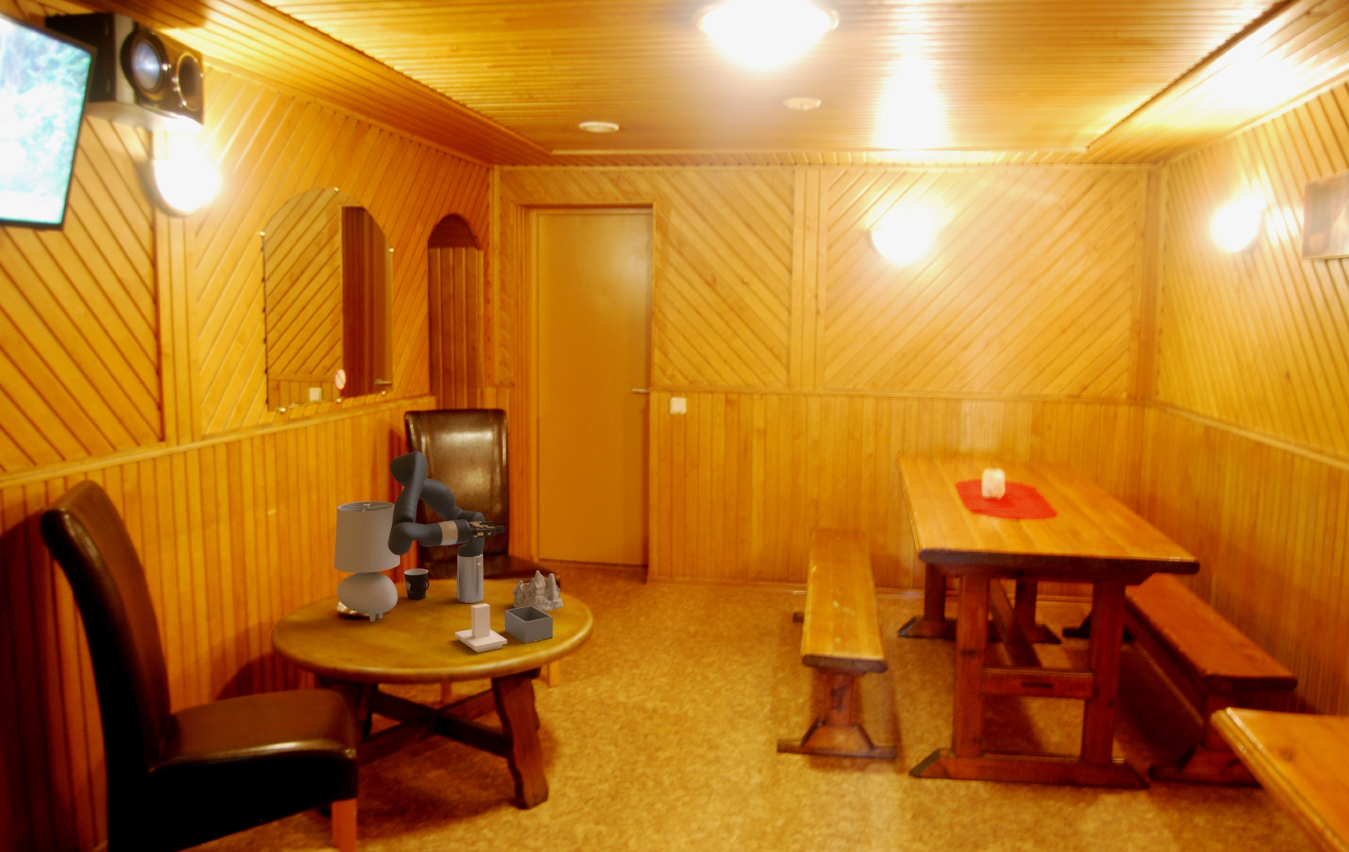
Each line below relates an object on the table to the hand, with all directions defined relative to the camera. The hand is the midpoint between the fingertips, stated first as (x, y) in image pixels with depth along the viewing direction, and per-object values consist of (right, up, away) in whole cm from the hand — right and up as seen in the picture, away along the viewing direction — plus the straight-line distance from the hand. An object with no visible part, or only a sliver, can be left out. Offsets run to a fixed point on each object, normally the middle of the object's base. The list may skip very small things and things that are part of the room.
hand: (498, 526), depth 308 cm
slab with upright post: (-4, -37, -7) cm, 38 cm away
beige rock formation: (+8, -33, +34) cm, 48 cm away
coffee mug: (-38, -32, +40) cm, 64 cm away
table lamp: (-49, -34, +18) cm, 62 cm away
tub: (+9, -36, +3) cm, 37 cm away
